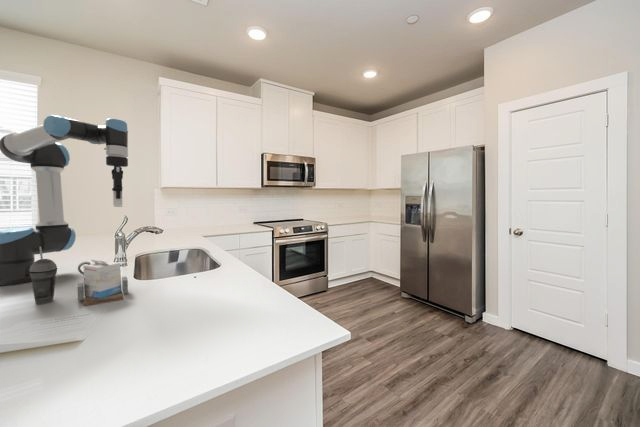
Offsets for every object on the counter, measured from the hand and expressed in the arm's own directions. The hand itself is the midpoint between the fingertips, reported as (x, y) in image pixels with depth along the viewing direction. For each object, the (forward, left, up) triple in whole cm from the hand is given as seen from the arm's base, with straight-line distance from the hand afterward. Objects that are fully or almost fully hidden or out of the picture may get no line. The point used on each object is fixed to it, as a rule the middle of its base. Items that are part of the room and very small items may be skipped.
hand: (117, 206), depth 119 cm
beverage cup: (+10, -22, -34) cm, 42 cm away
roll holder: (+15, -5, -34) cm, 38 cm away
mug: (-8, -7, -35) cm, 36 cm away
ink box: (+15, -6, -33) cm, 37 cm away
